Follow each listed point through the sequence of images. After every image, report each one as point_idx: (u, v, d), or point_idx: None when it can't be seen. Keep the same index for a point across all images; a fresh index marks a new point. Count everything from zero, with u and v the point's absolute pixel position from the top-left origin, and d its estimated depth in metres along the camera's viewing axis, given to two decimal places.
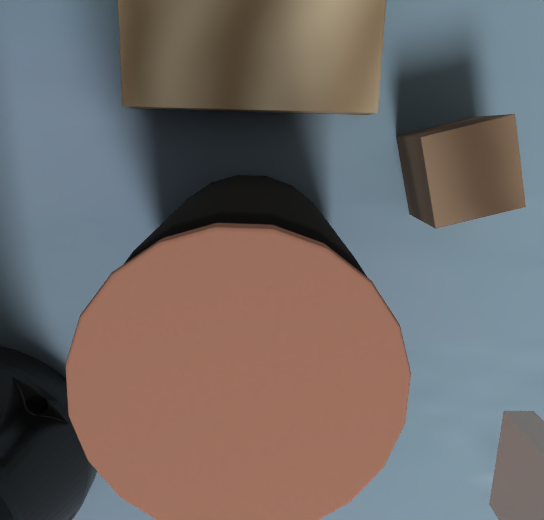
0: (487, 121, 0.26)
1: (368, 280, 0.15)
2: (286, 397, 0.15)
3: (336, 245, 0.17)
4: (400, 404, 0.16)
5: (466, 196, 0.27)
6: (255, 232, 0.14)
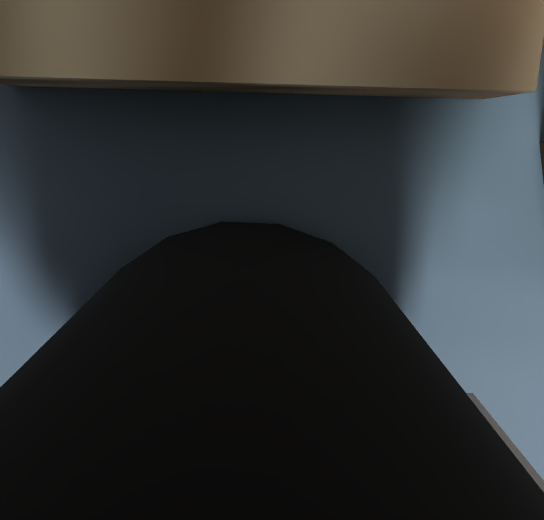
0: None
1: None
2: None
3: None
4: None
5: None
6: None
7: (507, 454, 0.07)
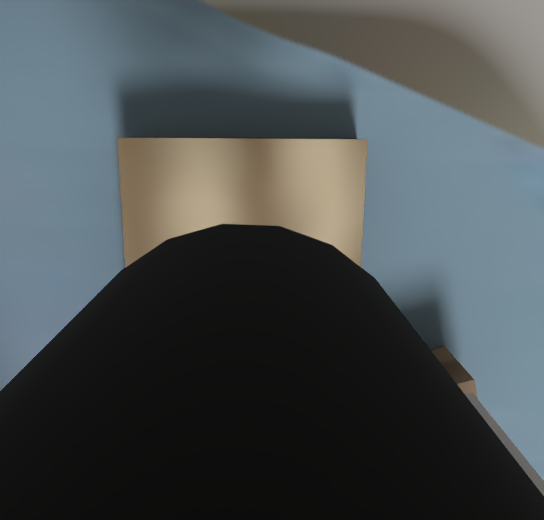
0: None
1: None
2: None
3: None
4: None
5: None
6: None
7: (508, 458, 0.06)
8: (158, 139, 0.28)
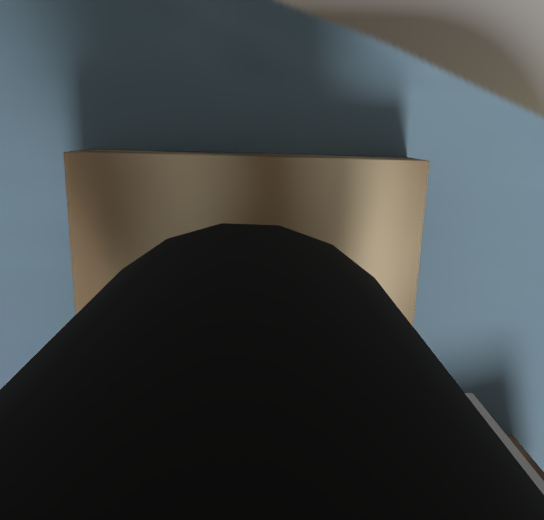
0: None
1: None
2: None
3: None
4: None
5: None
6: None
7: (508, 458, 0.06)
8: (124, 155, 0.19)
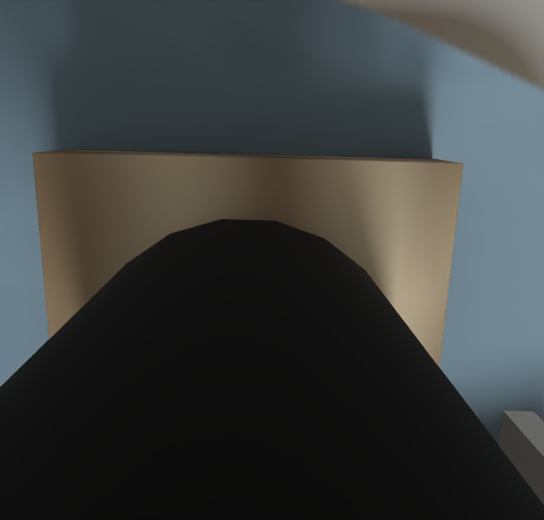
0: None
1: None
2: None
3: None
4: None
5: None
6: None
7: (470, 416, 0.07)
8: (104, 157, 0.16)
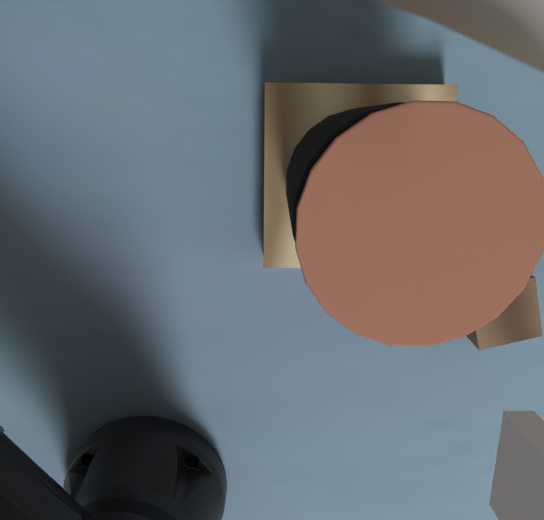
0: None
1: (521, 141, 0.20)
2: (455, 232, 0.21)
3: None
4: (539, 238, 0.21)
5: (500, 329, 0.40)
6: (442, 105, 0.20)
7: None
8: (296, 83, 0.37)
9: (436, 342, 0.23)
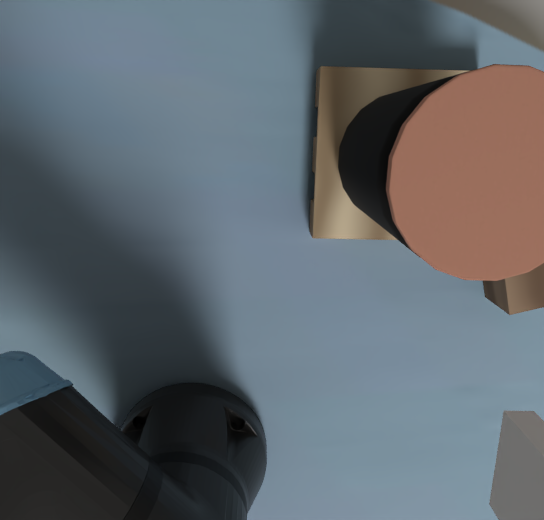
0: None
1: None
2: (525, 179, 0.25)
3: None
4: None
5: (529, 295, 0.43)
6: (518, 68, 0.24)
7: None
8: (349, 68, 0.40)
9: (504, 276, 0.26)
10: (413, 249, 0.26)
